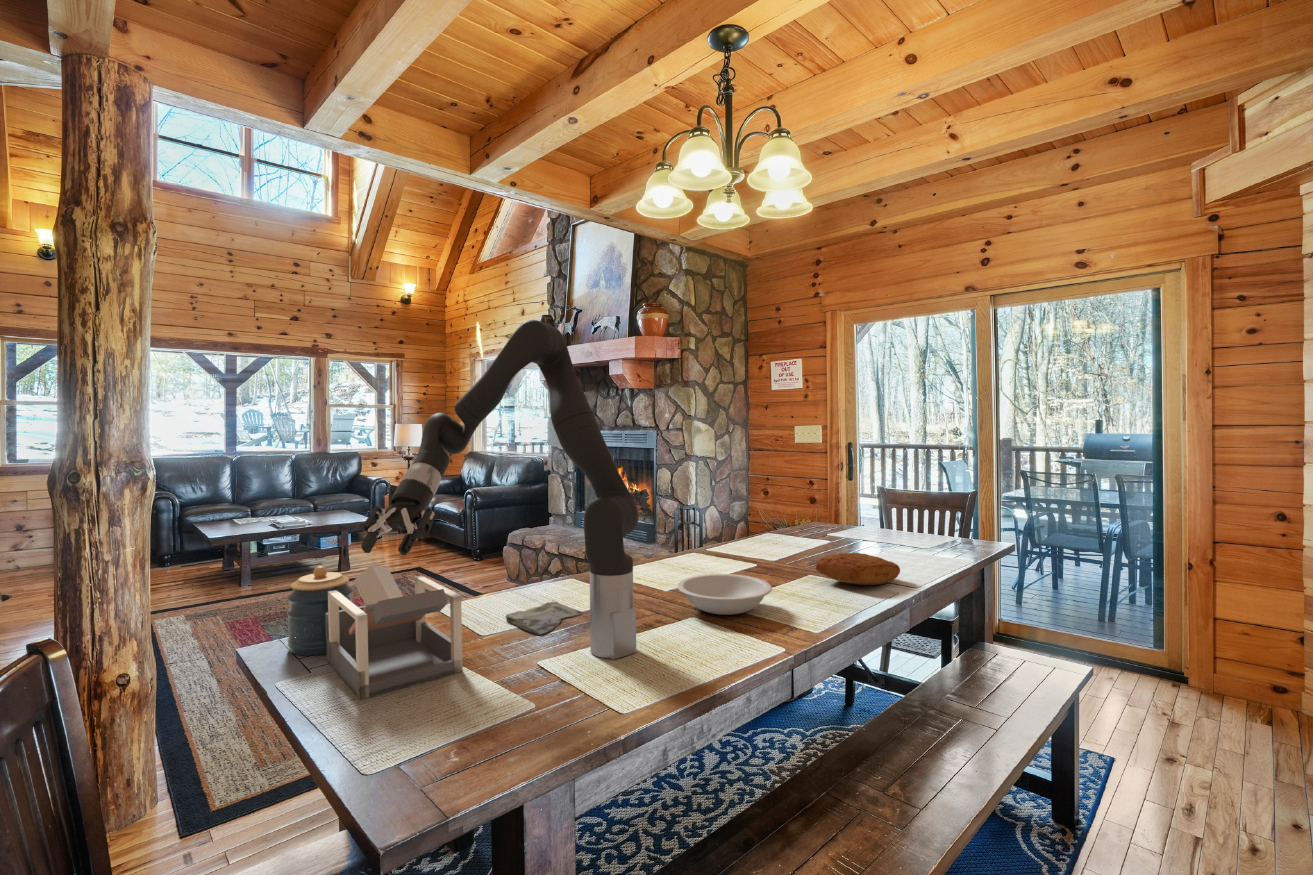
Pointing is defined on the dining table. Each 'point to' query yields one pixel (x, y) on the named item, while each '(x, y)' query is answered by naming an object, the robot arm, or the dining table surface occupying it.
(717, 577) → the soup bowl
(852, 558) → the bread loaf
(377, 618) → the trapdoor
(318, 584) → the canister
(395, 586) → the beige rectangular block
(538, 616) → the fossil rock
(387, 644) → the frame
